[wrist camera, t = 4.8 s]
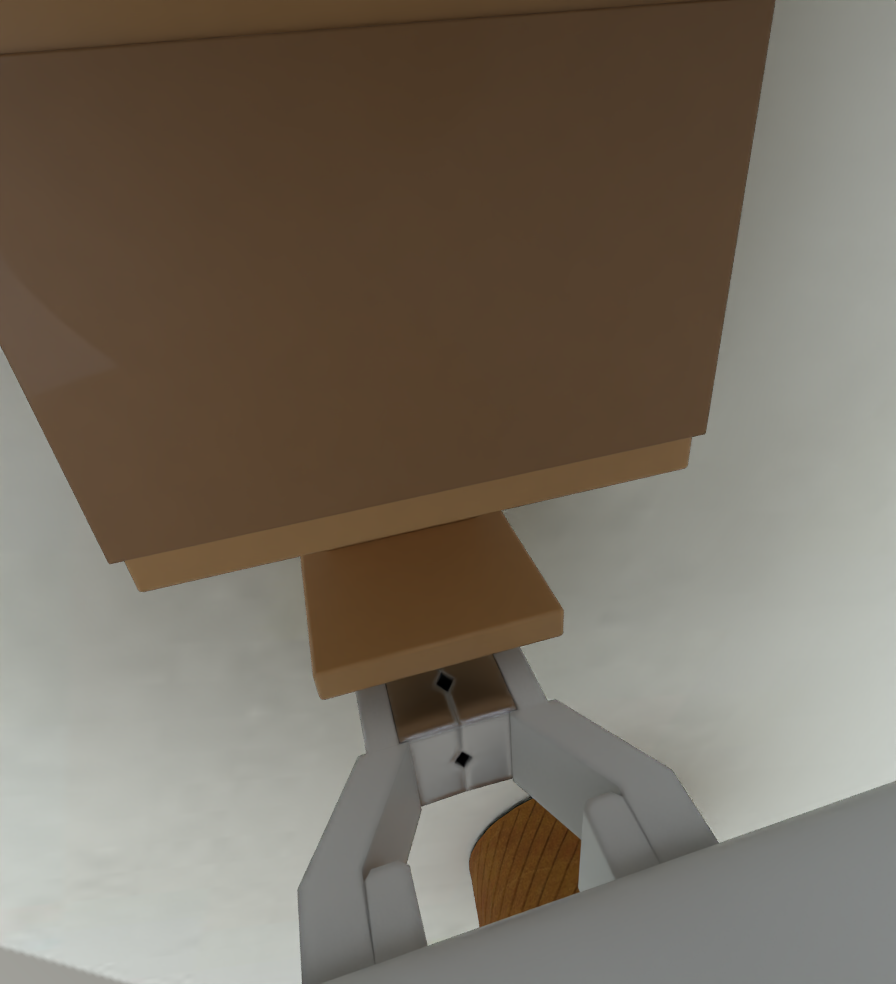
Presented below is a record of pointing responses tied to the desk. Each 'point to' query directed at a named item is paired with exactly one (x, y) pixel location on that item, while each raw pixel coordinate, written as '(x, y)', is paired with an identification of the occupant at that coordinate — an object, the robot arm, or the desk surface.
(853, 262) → the desk surface
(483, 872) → the disposable coffee cup
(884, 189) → the desk surface
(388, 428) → the wooden drawer
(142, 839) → the desk surface
